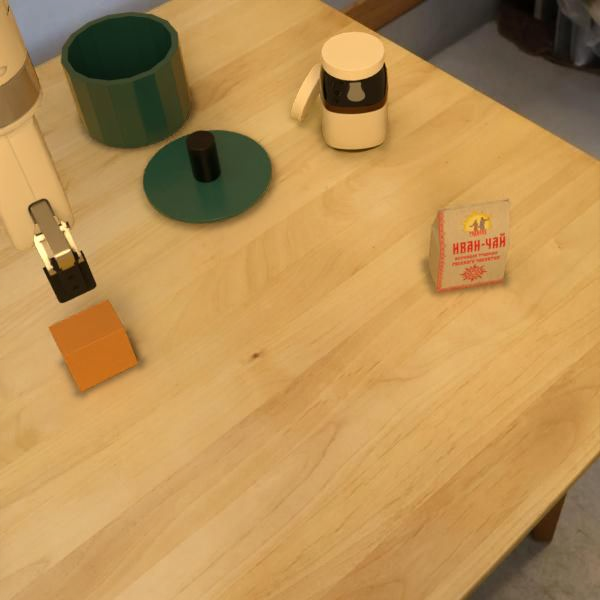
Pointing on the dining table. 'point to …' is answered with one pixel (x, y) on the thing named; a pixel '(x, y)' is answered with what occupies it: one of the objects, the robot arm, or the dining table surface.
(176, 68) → the pot
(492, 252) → the tea bag
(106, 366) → the orange seamed cube
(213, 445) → the dining table surface
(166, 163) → the lid
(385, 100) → the spread jar
